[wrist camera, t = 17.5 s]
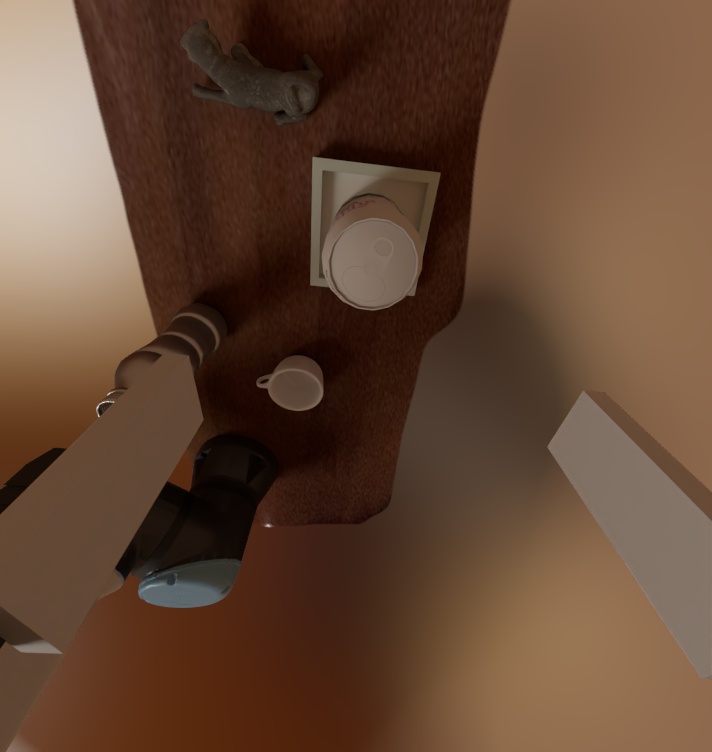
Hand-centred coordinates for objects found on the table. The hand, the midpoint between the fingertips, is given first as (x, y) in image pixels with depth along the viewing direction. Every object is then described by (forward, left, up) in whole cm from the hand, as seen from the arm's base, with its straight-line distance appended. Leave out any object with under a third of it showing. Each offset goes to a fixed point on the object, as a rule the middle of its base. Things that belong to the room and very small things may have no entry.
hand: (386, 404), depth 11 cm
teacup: (-21, +9, -32) cm, 40 cm away
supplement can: (0, 0, -32) cm, 32 cm away
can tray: (0, 0, -32) cm, 32 cm away
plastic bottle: (-14, +21, -32) cm, 41 cm away
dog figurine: (+12, +12, -32) cm, 36 cm away
